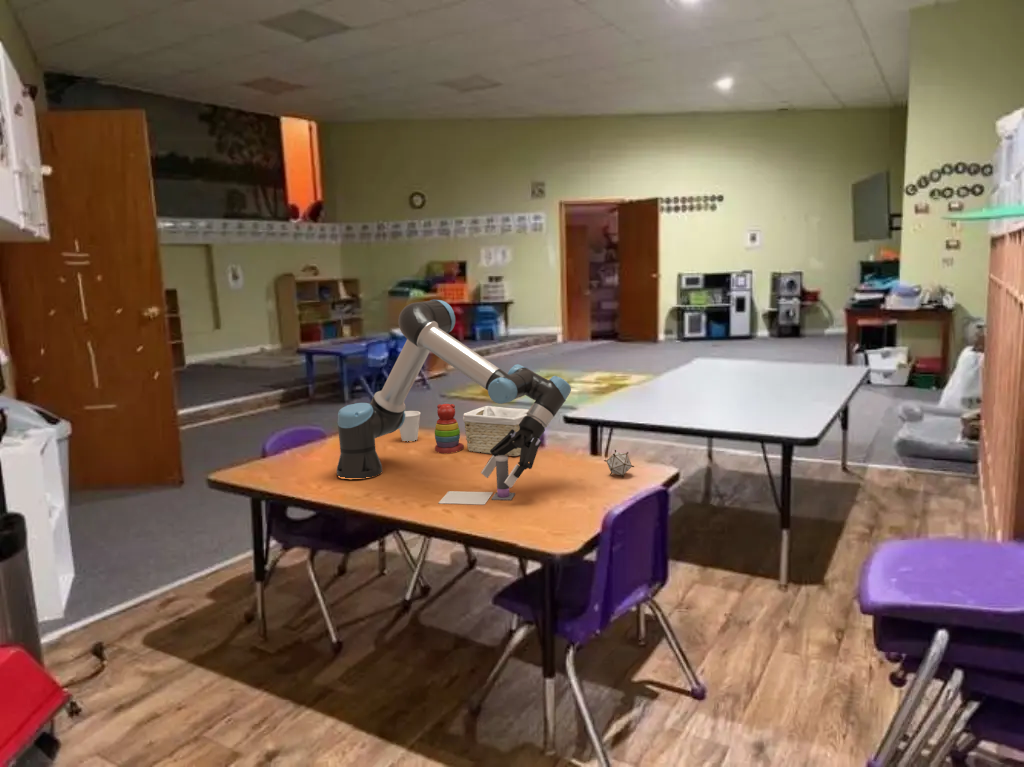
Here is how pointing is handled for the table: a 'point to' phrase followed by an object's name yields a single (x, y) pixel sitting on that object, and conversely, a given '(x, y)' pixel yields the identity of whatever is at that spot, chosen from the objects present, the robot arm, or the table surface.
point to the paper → (466, 498)
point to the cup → (410, 426)
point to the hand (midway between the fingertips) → (495, 480)
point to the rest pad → (503, 497)
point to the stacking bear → (447, 430)
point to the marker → (502, 475)
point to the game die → (619, 463)
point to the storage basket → (491, 427)
